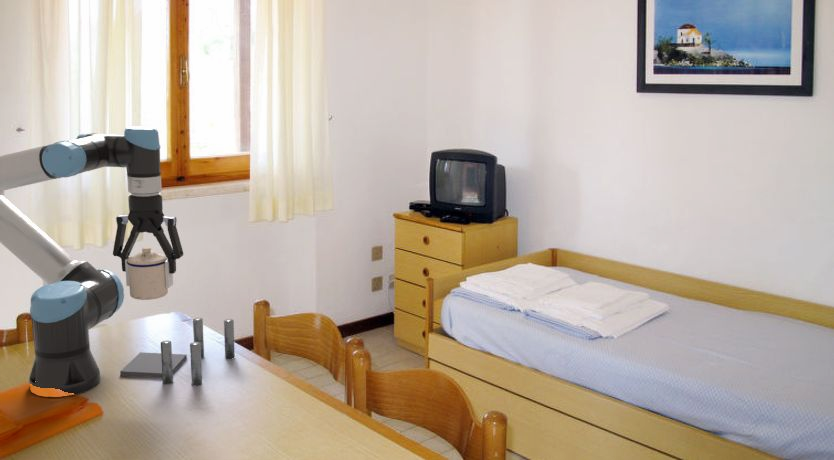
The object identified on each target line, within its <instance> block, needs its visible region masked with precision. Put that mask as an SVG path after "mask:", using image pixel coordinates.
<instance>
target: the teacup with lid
mask: <svg viewBox="0 0 834 460" xmlns="http://www.w3.org/2000/svg"><path fill="white" fill-rule="evenodd" d="M166 260H167V257H166V255H165V254H162V253H158V252H156V251H153V250H152V248H151V247H150V246H144V247H142V249H141V251H140V252H137V254H134V255H132V256H131V255H130V256H129V258H128V260H127V264H128V271H129V286H128V287H129V296H130V297H131V298H132V299H135V300H141V301H149V300H156V299H161V298H163V297H165V296H167V294H168V292H169V291H168V289H169V288H166V279H165V261H166Z"/></svg>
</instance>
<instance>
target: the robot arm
mask: <svg viewBox="0 0 834 460" xmlns="http://www.w3.org/2000/svg"><path fill="white" fill-rule="evenodd" d="M107 167H108V168H126V177H127V180H126V181H127V192H128V193H129V195H128V210H129V213H128V214H127V215H126V214H120V215H117V216H116V217H115V220H116V221H115V222H116V232H115V239H114V244H113V249H112V250H113V251H112V255H113V256H114V257H118V258H119V259H121V270H122V272H124V273H125V282H126V283H125V285H126V287H130V286H129V271H128V264H127V260H128V258H129V257H131V252H132V250H133V249H134V247H135V244H136V241H137V239H138V238H139V235H140V233H142V234H143V233H148V234H152V236H154V237H155V238H156V241H157V242H158V244H159V247H160V248H161V250H162V251H163V254H164V256H166V258H167V260H166V261H165V279H166V288H168V289H170V288H171V287H172V286H173V285H174V277H173V276H174V274H175V273H176V272H177V260H179V259H181V258H183V256H184V250H183V246H182V244H181V240H180V236H179V233H178V229H177V217H176V216H172V217H170V216H165V214H164V212H163V208H164V207H163V195H162V193H161V192H162V191H163V189H162V187H163V186H162V175H161V174H162V173H161V145H160V137H159V131H158V129H157V128H155V127H153V126H128V127H125V129H124V134H118V135H117V134H106V133H105V134H104V133H97V132H96V133H95V132H91V133H82V134H79V135H77V137H76V138H75V139H74V138H73V139H68V140H62V141H61V140H60V141H57V142H56V141H55V142H54V143H52V144H51V143H50V144H48V145H42V146H39V147H38V146H37V147H34V148H29V149H25V150H21V151H16V152H11V153H7V154H3V155H0V244H1V245H2V246H3V247H5V248H6V249H7V250H8V251H9V252H10V253H11V254H13V255H14V256H15V257H16V258H17V259H18V260H19V261H21V262H22V263H23V264H24V265H25V266H26V267H27V268H29V270H31V271H32V272H33V273H34V274H36V275H37V276H38V277H39V278H40V279H41V280H43V281H44V283H46V284H45V285H43V286H41V287H39V288H37V289H36V290H35V291H34V292H33V293H32V295H31V297H30V308H29V314H30V316H31V327H32V337H33V349H34V360H33V364H32V367H31V371H30V375H29V378H28V384H29V383H30V384H32V385H33V386H36V387H40V388H55V389H60V390H62V391H64V392H68V393H74V394H76V395H79V394H83V393H85V392H88V391H90V390H92V389H94V388H95V387H96V386H98V384H99V383H100V382H101V375H100V374H101V371H100V368H99V366H98V363H97V361H96V360H95V358H94V354H92V351H91V347H90V346H91V345H90V331H89V330H91V329H92V328H94V327H96V326H97V325H99V324H100V323H102V322H104V321H105V320H108V319H109V318H111V317H112V316H113V315H114V314H116V312H118V311H119V310H120V308H121V307H122V305H123V303H124V300H125V299H124V298H125V292H124V291H125V290H124V285H123V282H122V281H121V279H120V278H119V277H118V275H116V274H115V273H114V272H112V271H110V270H108V269H100V268H99V269H96V268H95V266H93V265H92V264H91V263H89V261H87V260H77V259H76V258H74V257H73V256H72V255H71V254H70V253H69V252H67V251H66V250H65V249H64V248H63V247H62V246H61V245H59V244H58V243H57V241H55V240H54V239H53V238H51V237H50V236H49V235H48V233H46V232H45V231H44V230H42V229H41V228H40V227H39V226H38V225H37V224H36V223H35V222H33V221H32V220H31V219H30V218H29V217H28V216H27V215H26V214H24V213H23V212H22V211H21V210H20V209H19V208H18V207H17V206H16V205H14V204H13V203H12V202H11V201H10V200H9V199H8V198H6V197H5V191H7V190H11V189H16V188H19V187H21V188H22V187H25V186H29V185H35V184H38V183H43V182H48V181H51V180H57V179H61V178H70V177H73V176H74V177H75V176H77V175H79V174H82V173H86V172H90V171H94V170H99V169H101V168H107ZM128 222H130V224H131V225H132V228H131V231H130V234H129V236H128V238H127V240H126V243H125V242H124V241H125V237H126V230H127V224H128ZM163 223H164V224H165V226H166V228H167V232H168V237H169V239H170V240H168V238H167V236H166V234H165V232H164V228H163V227H162V224H163ZM169 241H170V242H169ZM124 243H125V245H124ZM35 381H36V382H35Z"/></svg>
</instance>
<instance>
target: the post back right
mask: <svg viewBox="0 0 834 460" xmlns="http://www.w3.org/2000/svg"><path fill="white" fill-rule="evenodd" d="M234 323H235V321H234V319H232V318H229V319H227V318H226V319H224V320H223V333H224V335H223V336H224V337H223V338H224V358H226V360H233V359H232V358H234V357H235V356H236V354H235V324H234ZM235 358H236V357H235ZM235 358H234V359H235Z"/></svg>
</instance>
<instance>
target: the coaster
mask: <svg viewBox="0 0 834 460" xmlns="http://www.w3.org/2000/svg"><path fill="white" fill-rule="evenodd" d="M187 356H188V355H187V354H182V353H181V354H180V353H172V366H173V375H174V374H175V373H176V372H177V371H178V369H180V368H181V366H182V365H183V363H185V362H186V360H187V359H188V357H187ZM119 375H120V377H134V378H135V377H136V378H155V379H162V361H161V352H142V351H140V352H139V353H138V354H137V355H136V356H135V357H133V359H131V360H130V361H129V362H128V363H127V364H126V365H125V366H124V367H123V368H122V369H121V370H120V371H119Z"/></svg>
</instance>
